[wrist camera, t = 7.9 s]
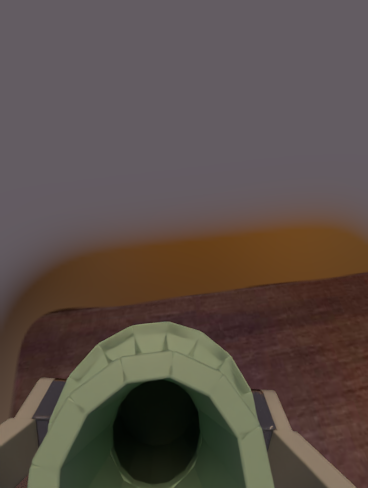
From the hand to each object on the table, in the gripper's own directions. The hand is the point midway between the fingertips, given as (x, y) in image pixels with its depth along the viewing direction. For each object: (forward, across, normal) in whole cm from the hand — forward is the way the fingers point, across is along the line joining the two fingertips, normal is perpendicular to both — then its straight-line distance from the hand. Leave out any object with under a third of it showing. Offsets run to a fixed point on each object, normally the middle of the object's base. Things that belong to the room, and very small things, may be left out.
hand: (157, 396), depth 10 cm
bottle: (+6, 0, +7) cm, 9 cm away
